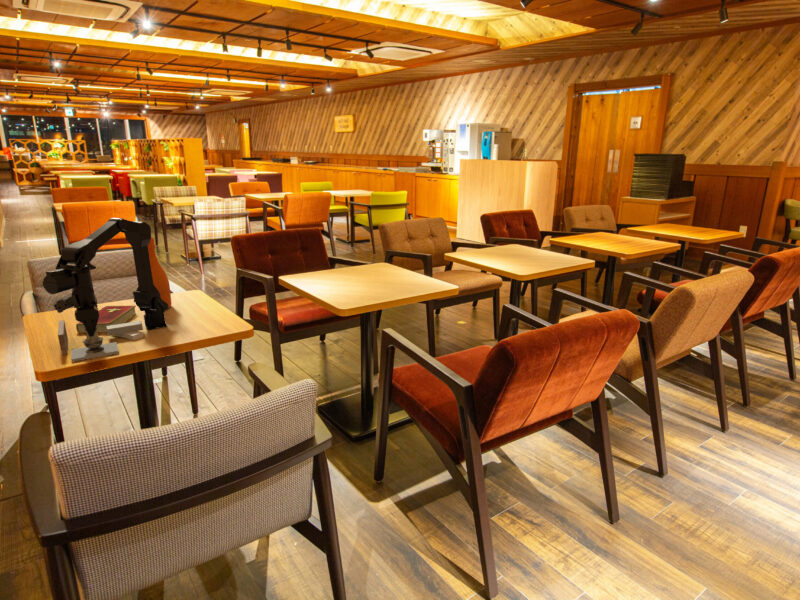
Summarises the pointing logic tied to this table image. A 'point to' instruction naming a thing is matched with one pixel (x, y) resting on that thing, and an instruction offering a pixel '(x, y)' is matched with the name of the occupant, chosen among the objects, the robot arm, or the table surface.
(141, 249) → the robot arm
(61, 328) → the long thin taupe batten
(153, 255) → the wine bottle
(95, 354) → the slate mat
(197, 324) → the table surface
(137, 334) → the bottom offcut
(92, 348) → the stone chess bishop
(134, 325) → the top offcut
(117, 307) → the hardcover book
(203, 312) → the table surface
